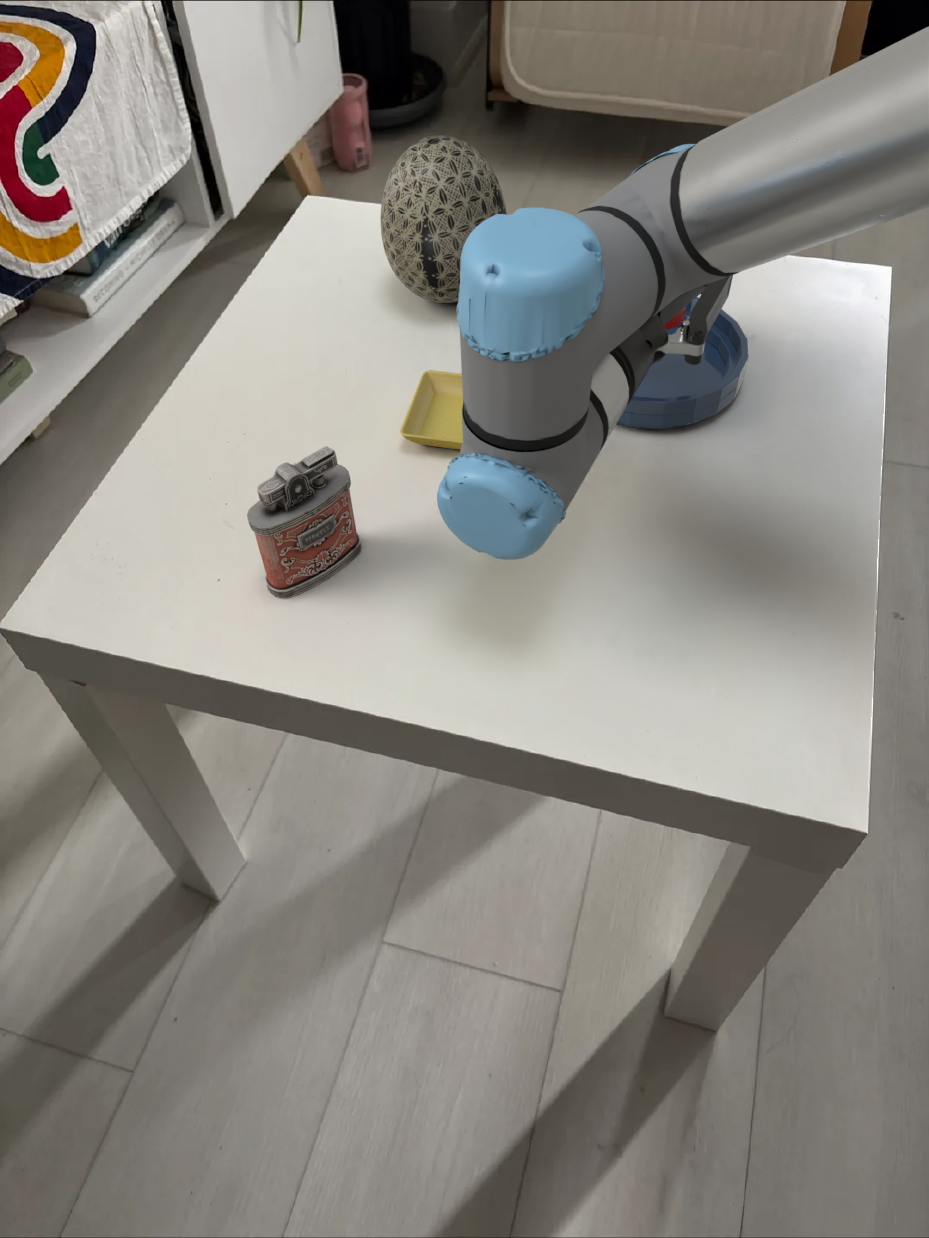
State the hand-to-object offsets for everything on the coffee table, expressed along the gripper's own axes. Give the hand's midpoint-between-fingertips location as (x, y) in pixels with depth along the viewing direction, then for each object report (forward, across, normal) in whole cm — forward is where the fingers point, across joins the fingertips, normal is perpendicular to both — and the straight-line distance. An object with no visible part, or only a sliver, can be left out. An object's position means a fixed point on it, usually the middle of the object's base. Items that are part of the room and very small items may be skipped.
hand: (686, 216), depth 80 cm
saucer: (-18, -12, -12) cm, 25 cm away
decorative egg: (-1, -22, -12) cm, 25 cm away
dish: (-5, 0, -12) cm, 13 cm away
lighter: (-37, -15, -12) cm, 42 cm away
